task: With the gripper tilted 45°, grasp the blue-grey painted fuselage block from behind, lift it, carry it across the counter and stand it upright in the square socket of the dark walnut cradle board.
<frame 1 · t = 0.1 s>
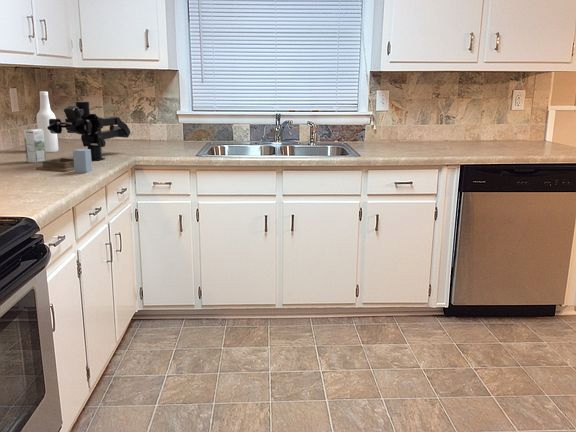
hand: (57, 128, 212), 17 cm above the table, tool horizontal, fingers open, 9 cm apart
fuselage block: (83, 171, 209), on the table
alcohol: (49, 151, 264), on the table
cradle: (63, 167, 217), on the table
syrup box: (36, 162, 231), on the table
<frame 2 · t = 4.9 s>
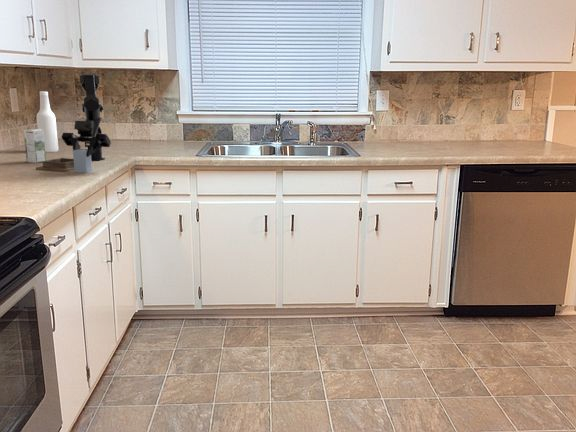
hand: (80, 156, 206), 7 cm above the table, tool tilted 45°, fingers closed on fuselage block, 5 cm apart
fuselage block: (83, 171, 209), on the table, touching gripper
everything else where it was.
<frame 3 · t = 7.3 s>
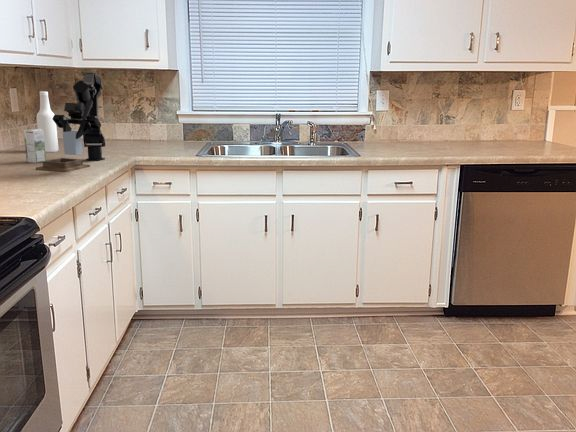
hand: (70, 138, 207), 13 cm above the table, tool tilted 45°, fingers closed on fuselage block, 5 cm apart
fuselage block: (73, 153, 210), point 7 cm above the table, touching gripper
everything else where it was.
when the fingers open (9 cm above the table, at t = 9.9 s): fuselage block drops 1 cm, resting on cradle.
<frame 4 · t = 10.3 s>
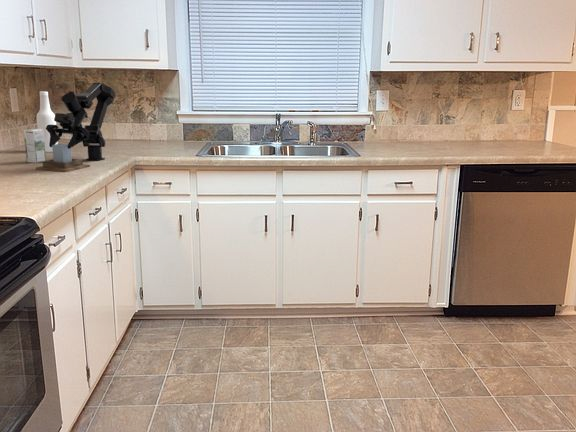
hand: (59, 147, 213), 9 cm above the table, tool tilted 45°, fingers open, 9 cm apart
fuselage block: (63, 166, 217), point 1 cm above the table, touching cradle
everything else where it was.
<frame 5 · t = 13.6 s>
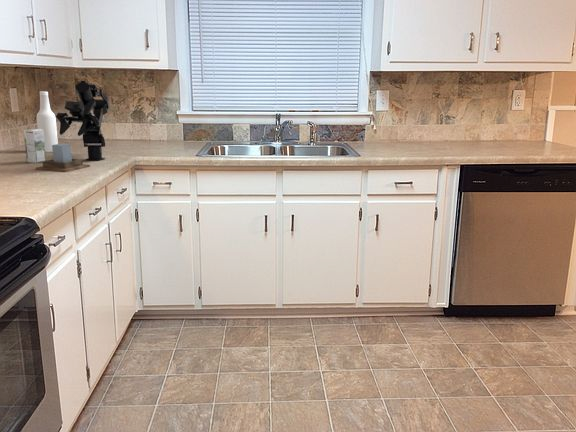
hand: (69, 134, 218), 14 cm above the table, tool tilted 45°, fingers open, 9 cm apart
nothing on the table moved.
at the end: fuselage block 0.0 cm off-centre on the cradle, point 0.8 cm above the cradle's base; fuselage block tilted 0°; the gripper is holding nothing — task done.
